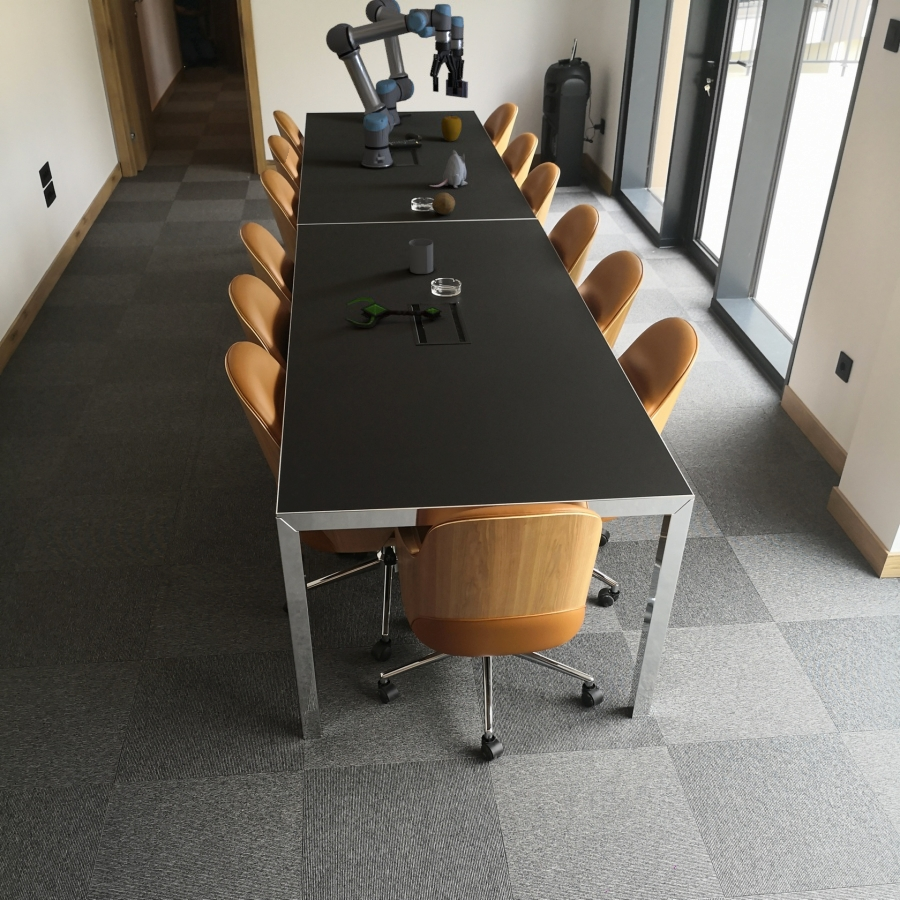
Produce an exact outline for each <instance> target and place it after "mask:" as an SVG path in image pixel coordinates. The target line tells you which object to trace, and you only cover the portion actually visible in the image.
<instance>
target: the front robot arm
mask: <svg viewBox="0 0 900 900" xmlns="http://www.w3.org/2000/svg"><path fill="white" fill-rule="evenodd" d="M451 16H452V6H451V5H450V4H449V3H437V4H434V8H411V9H409V11H408V13H406V14H405V15H403V16H399V17H395V18H391V19H387V20H383V21H379V22H375V23H372V22H371V23H366V24H363V25H359V26H354V27H353V26H352V25H351V24H349V23H346V22H343V23H342V22H341V23H338V24H336V25H334V26H332V27H331V28H329V30H328V31H327V32H326V36H325V42H326V46H327V47H328V49H329V50H330V51H331V52H332V53H334V54H336V56H337V58H338V59H339V60H340V61H342V62H343V64H344V66H345V69H346V70H347V73H348V75H349V77H350V80H351V82H352V84H353V86H354V88H355V91H356V93H357V95H358V97H359V99H360V102H361V104H362V106H363V108H364V112H363V116H364V117H363V122H362V125H363V138H364V139H363V140H364V151H363V155H362V159H361V166H362V167H363V168H366V169H371V170H381V169H387V168H390V167H392V166H394V161H393V158H392V155H393V152H394V151H392V150H391V149H390V147H389V145H390V144H389V135H390V134H391V133H392V131H393V130H394V127H395V126H394V118H393V116H392V114H391V113H390V112H389V111H388V110H387V107H386V105H385V104H384V103H381V101H380V99H379V97H378V95H377V92H376V90H375V89H376V87H375V86H374V84H373V82H372V81H373V80H372V79H371V76H370V74H369V72H368V70H367V67H366V66H365V62H364V61H363V59H362V56H361V54H360V52H361V46H362V45H366V44H368V43H369V44H370V43H374V42H377V41H382V40H384V39H386V38H390V37H394V36H398V37H399V36H401V35H406V34H409V33H412V32H418V31H421V30H423V29H424V27H435V36H434V40H435V42H434V47H435V48H434V50H435V51H437V52H436V53H433V54H432V55H433V56H432V57H433V58H432V63H431V66H430V67H431V68H430V72H429V76H430V77H431V78H432V92H434V93H439V87H440V84H439V83H440V82H439V74H440V71H441V68H442V65H443V64H445V66H446V68H447V71H448V72H447V79H448V87H453V73H455V72H456V66H455V62H454V58H453V51H450V50H451V42H450V40H451ZM453 67H454V68H453Z"/></svg>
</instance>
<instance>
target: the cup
mask: <svg viewBox="0 0 900 900" xmlns="http://www.w3.org/2000/svg"><path fill="white" fill-rule="evenodd" d="M408 253H409V272H411V273H412V274H416V275H426V274H430V273H432V272H434V241H433V240H431V239H428V238H422V237H421V238H420V237H419V238H414V239H411V240H410V241H409V242H408Z"/></svg>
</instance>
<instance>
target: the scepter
mask: <svg viewBox="0 0 900 900" xmlns="http://www.w3.org/2000/svg"><path fill="white" fill-rule="evenodd" d="M365 301H366V302H369V303H370V304H368V305H366V306H364V307H362V308H360V311H362V313H360V316H363V317H365V318H366V319H368V320H370V321H369V322H368V323H360V322H357V321H354V320H352V319H349V318H345V319H344V320H345V321H347V323H350V324H352V325H353V326H355V327H357V328H366V329H368V328H372V327H374V325H376V323H377V322H379V321H381V320H383V319H385V318H387V317H389V316H411V317H414V316H416V317H421V316H422V317H423V318H424V317H425V318H427V319H428V320H431V321H434V320H437V319H438V318H442V314H441V313H442V312H443V310H440V309H439V308H437V307H434V306H432V307H428V308H426V309H424V310H411V309H409V310H407V309H404V310H403V309H402V310H401V309H391V308H390V309H389V308H388V307H386V306H383V304H380V303H378V302H377V301H376V299H375V298H374V297H371V296H360V297H356V298H354V299H352V300H350V301H349V302H347V303H346V305H347V306H349V305H352V304H354V303H357V302H365Z"/></svg>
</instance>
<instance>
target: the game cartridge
mask: <svg viewBox="0 0 900 900" xmlns="http://www.w3.org/2000/svg"><path fill="white" fill-rule="evenodd" d="M457 82H458V94H457V95H455V94H453V87H448V78H446V79H445V96H447V97H455V98H461V99H462V98H463V99H468V97H469V81H466V80H463V79H462V80H457Z"/></svg>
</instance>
